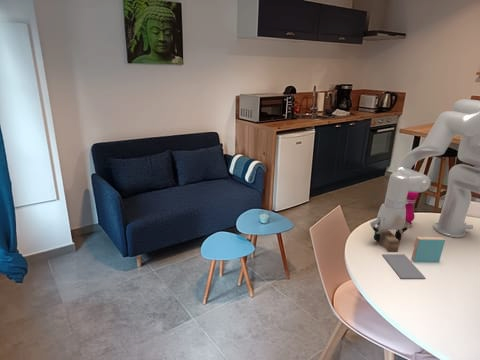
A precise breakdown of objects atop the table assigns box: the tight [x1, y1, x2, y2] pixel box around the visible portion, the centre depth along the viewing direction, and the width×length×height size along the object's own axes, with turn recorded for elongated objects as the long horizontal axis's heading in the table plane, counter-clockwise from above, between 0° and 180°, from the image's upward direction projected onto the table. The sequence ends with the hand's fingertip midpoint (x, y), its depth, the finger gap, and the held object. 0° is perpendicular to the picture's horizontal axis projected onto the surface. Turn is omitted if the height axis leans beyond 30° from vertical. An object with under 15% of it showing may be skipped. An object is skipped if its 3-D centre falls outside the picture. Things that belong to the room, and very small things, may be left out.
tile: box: [410, 236, 446, 263], centre depth 126 cm, size 2×10×10 cm, turn 92°
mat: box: [381, 253, 426, 280], centre depth 124 cm, size 9×15×1 cm, turn 2°
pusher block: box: [378, 228, 401, 253], centre depth 138 cm, size 12×4×5 cm, turn 2°
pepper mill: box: [404, 192, 419, 228], centre depth 153 cm, size 7×7×20 cm
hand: (386, 240), depth 138 cm, fingers open, 8 cm apart
